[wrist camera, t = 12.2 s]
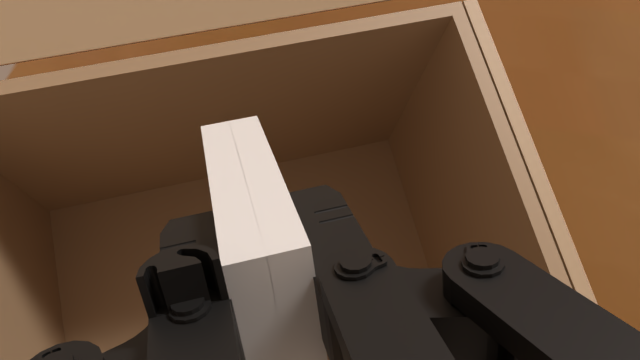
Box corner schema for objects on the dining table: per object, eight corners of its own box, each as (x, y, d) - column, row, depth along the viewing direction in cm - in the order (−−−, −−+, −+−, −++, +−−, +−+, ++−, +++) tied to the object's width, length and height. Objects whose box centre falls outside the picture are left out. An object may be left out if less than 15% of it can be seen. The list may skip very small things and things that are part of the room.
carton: (401, 128, 38) (474, -6, 24) (512, 469, 31) (690, 537, 18) (28, 205, 34) (-124, 97, 21) (72, 610, 28) (-105, 824, 14)
